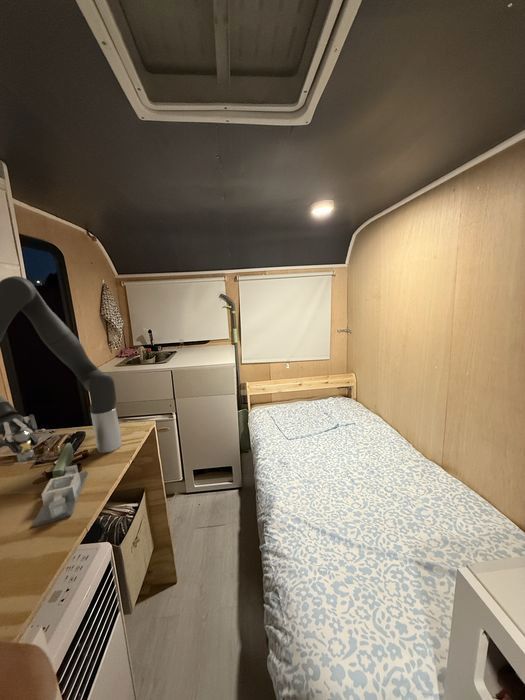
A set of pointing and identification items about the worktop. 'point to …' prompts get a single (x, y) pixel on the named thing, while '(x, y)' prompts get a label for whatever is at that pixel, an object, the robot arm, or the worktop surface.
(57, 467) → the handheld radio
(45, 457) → the worktop surface
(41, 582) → the worktop surface
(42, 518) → the base
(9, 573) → the worktop surface
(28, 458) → the grey cylinder with band
